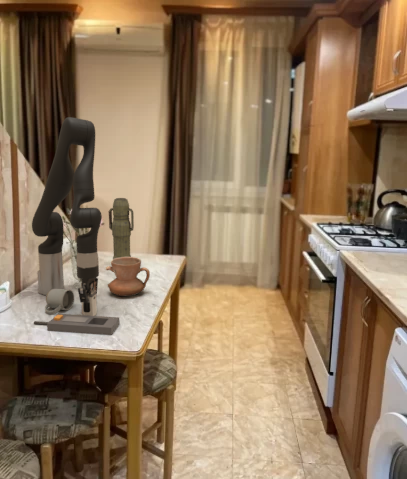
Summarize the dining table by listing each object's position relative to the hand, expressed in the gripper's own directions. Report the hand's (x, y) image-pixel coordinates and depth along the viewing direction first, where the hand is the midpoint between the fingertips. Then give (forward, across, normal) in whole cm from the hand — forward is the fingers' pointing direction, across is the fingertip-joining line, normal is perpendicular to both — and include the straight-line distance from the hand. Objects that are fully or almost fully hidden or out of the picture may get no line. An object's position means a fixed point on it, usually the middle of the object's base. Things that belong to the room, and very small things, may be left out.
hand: (89, 309), depth 168 cm
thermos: (+3, -58, -5) cm, 58 cm away
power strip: (+2, +11, -2) cm, 11 cm away
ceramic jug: (+3, -26, +7) cm, 27 cm away
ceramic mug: (+3, -4, -13) cm, 14 cm away
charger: (+2, 0, 0) cm, 2 cm away
